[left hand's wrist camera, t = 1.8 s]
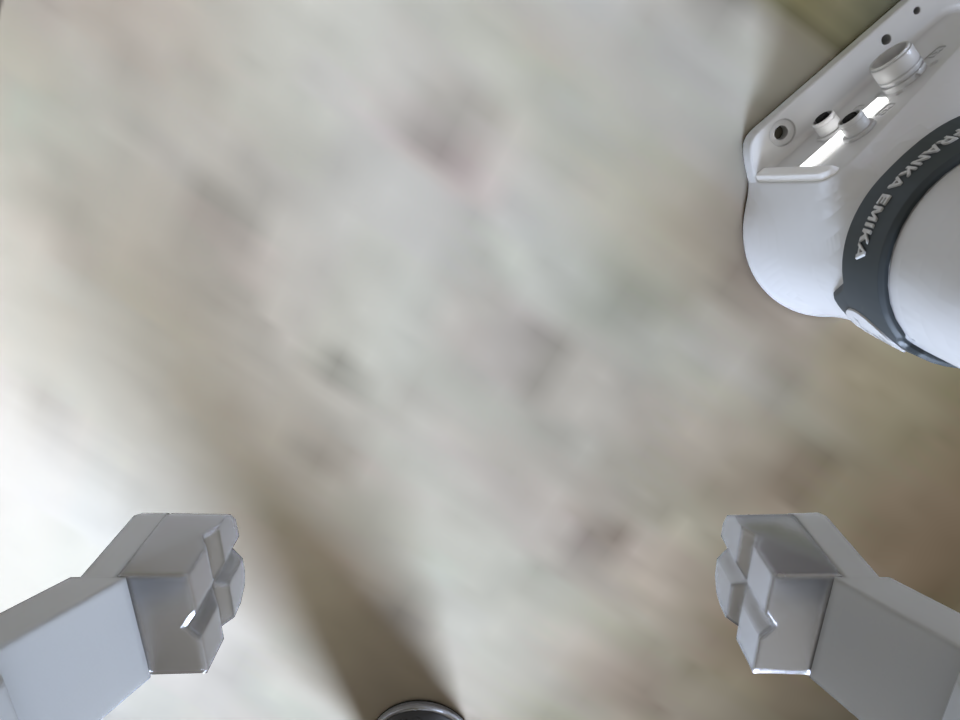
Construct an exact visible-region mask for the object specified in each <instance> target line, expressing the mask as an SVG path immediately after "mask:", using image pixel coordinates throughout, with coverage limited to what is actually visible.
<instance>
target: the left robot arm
mask: <svg viewBox="0 0 960 720" xmlns="http://www.w3.org/2000/svg"><path fill="white" fill-rule="evenodd" d="M881 39H882V42H881ZM779 126H781V127H782V129H783V133H782V136H781V137H780V138H779V139H777V138H776V137H775V135H774V133H775V130H776V128H777V127H779ZM743 159H744V165H745V169H746V174H747V178H748V182H749V188H748V197H747V202H746V208H745V213H744V221H743V243H744V249H745V254H746V258H747V261H748V264H749V267H750V269H751V271H752V273H753V275H754V277H755V279H756V280H757V282H758V283H759V285H760V286H761V287H762V288H763V290H764V291H765V292H766V293H767V294H768V295H769V296H770V297H772V298H773V299H774V300H775V301H777V302H778V303H780V304H781V305H783V306H785V307H787V308H789V309H791V310H793V311H796V312H799V313H802V314H806V315H811V316H819V317H840V318H844V319H848V320H851V321H852V322H853V323H854V324H855V325H857V326H858V327H859V328H861V329H862V330H864V331H866V332H867V333H869V334H871V335H873V336H874V337H876V338H878V339H880V340H881V341H883V342H885V343H887V344H889V345H891V346H893V347H894V348H896V349H898V350H900V351H902V352H906V351H907V352H909V353H911V354H914V355H916V356H918V357H920V358H922V359H925V360H927V361H929V362H932V363H935V364H939V365H942V366H947V367H954V368H960V0H901V1H899V2H898V3H897V4H896V5H895V6H894V7H892V8H891V9H890V10H889V11H888V12H887V13H886V14H884V15H883V16H882V17H881V18H880V19H879V20H877V21H876V22H875V23H874V24H873V25H872V26H871V27H869V28H868V29H867V30H866V31H865V32H864V33H862V34H861V35H860V36H859V37H858V38H857V39H856V40H854V41H853V42H852V43H851V44H850V45H849V46H847V47H846V48H845V49H844V50H843V51H842V52H841V53H839V54H838V55H837V56H836V57H835V58H834V59H832V60H831V61H830V62H829V63H828V64H827V65H826V66H824V67H823V68H822V69H821V70H820V71H819V72H817V73H816V74H815V75H814V76H813V77H812V78H811V79H809V80H808V81H807V82H806V83H805V84H804V85H803V86H801V87H800V88H799V89H798V90H797V91H796V92H794V93H793V94H792V95H791V96H790V97H789V98H788V99H786V100H785V101H784V102H783V103H782V104H781V105H779V106H778V107H777V108H776V109H775V110H774V111H773V112H771V113H770V114H769V115H768V116H767V117H766V118H764V119H763V120H762V121H761V122H760V123H759V124H758V125H756V126H755V127H754V128H753V129H752V130H751V131H750V132H749V133H748V134H747V136H746V138H745V140H744V143H743ZM238 537H239V533H238V528H237V523H236V519H235V518H234V517H233V516H232V515H231V514H192V513H171V514H169V513H141V514H138V515H135V516H133V517H132V519H131V520H130V521H129V522H128V523H127V524H126V525H125V527H124V528H123V529H122V530H121V531H120V532H119V534H118V535H117V536H116V537H115V538H114V539H113V540H112V542H111V543H110V544H109V545H108V546H107V547H106V548H105V550H104V551H103V552H102V553H101V554H100V555H99V557H98V558H97V559H96V560H95V561H94V562H93V563H92V565H91V566H90V567H89V568H88V569H87V570H86V572H85V573H84V574H83V575H82V576H81V577H70V578H68V579H66V580H64V581H62V582H60V583H58V584H56V585H55V586H53V587H51V588H49V589H47V590H45V591H43V592H41V593H39V594H37V595H35V596H33V597H31V598H29V599H27V600H25V601H23V602H21V603H19V604H17V605H15V606H13V607H11V608H9V609H8V610H6V611H4V612H2V613H0V720H101V719H102V718H103V717H105V716H106V715H107V714H108V713H109V712H110V711H112V710H113V709H114V708H115V707H116V706H118V705H119V704H120V703H121V702H122V701H123V700H125V699H126V698H127V697H128V696H129V695H130V694H132V693H133V692H134V691H135V690H136V689H138V688H139V687H140V686H141V685H142V684H143V683H145V682H146V681H147V680H148V679H149V678H150V677H151V676H150V674H182V673H207V672H208V670H209V668H210V666H211V664H212V662H213V660H214V658H215V656H216V653H217V651H218V649H219V647H220V645H221V643H222V641H223V639H224V637H223V631H222V626H223V625H224V624H225V623H227V622H228V621H230V620H231V619H232V618H234V617H235V615H236V612H237V610H238V608H239V606H240V604H241V600H242V595H243V590H244V586H245V569H244V563H243V558H242V557H241V556H240V555H239V554H238V553H237V552H236V551H235V550H234V549H233V546H234V544H235V543H236V541H237V539H238ZM721 537H722V539H723V541H724V543H725V544H726V546H727V549H726V550H725V551H724V552H723V553H722V554H721V555H720V556H719V557H718V558H717V563H716V571H715V582H716V593H717V596H718V600H719V603H720V606H721V608H722V610H723V612H724V615H725V617H726V618H728V619H729V620H730V621H732V622H733V623H735V624H736V625H737V626H738V631H737V637H736V639H737V641H738V643H739V645H740V647H741V649H742V651H743V653H744V655H745V657H746V659H747V661H748V664H749V666H750V668H751V670H752V672H753V673H777V674H810V676H809V677H810V678H811V679H812V680H813V681H814V682H816V683H817V684H818V685H819V686H820V687H822V688H823V689H824V690H825V691H826V692H827V693H829V694H830V695H831V696H832V697H833V698H834V699H836V700H837V701H838V702H839V703H840V704H842V705H843V706H844V707H845V708H846V709H847V710H849V711H850V712H851V713H852V714H853V715H854V716H856V717H857V718H858V719H859V720H960V613H958V612H956V611H954V610H952V609H950V608H948V607H946V606H944V605H943V604H941V603H939V602H937V601H935V600H933V599H931V598H929V597H927V596H925V595H923V594H921V593H919V592H917V591H915V590H913V589H911V588H909V587H907V586H905V585H903V584H902V583H900V582H898V581H896V580H894V579H892V578H890V577H879V576H878V575H877V574H876V573H875V572H874V570H873V569H872V568H871V567H870V566H869V565H868V564H867V562H866V561H865V560H864V559H863V558H862V557H861V555H860V554H859V553H858V552H857V551H856V550H855V549H854V547H853V546H852V545H851V544H850V543H849V542H848V540H847V539H846V538H845V537H844V536H843V535H842V534H841V532H840V531H839V530H838V529H837V528H836V527H835V526H834V524H833V523H832V522H831V521H830V520H829V519H828V517H827V516H825V515H823V514H821V513H789V514H770V515H727V517H726V519H725V521H724V523H723V527H722V532H721Z"/></svg>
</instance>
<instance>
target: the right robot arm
mask: <svg viewBox="0 0 960 720" xmlns="http://www.w3.org/2000/svg"><path fill="white" fill-rule="evenodd" d="M377 720H463V719H462V718H461V717H460V716H459V715H458V714H457V713H455V712H454V711H453V710H451V709H449V708H447V707H445V706H443V705H440V704H437V703H432V702H426V701H413V702H406V703H402V704H399V705H396V706H394V707H392V708H390V709H388V710H387V711H386V712H384V713H383V714H382V715H381V716H380V717H379V718H378V719H377Z"/></svg>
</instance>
